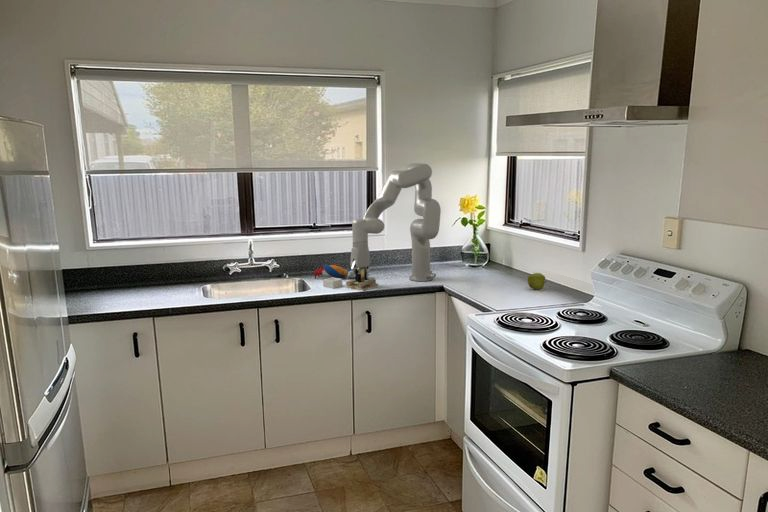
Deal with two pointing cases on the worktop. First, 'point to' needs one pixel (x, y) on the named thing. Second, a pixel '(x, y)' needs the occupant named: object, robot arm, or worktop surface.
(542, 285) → the apple
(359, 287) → the tester base
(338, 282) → the holder
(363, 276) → the cylinder
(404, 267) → the worktop surface
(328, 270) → the figurine
